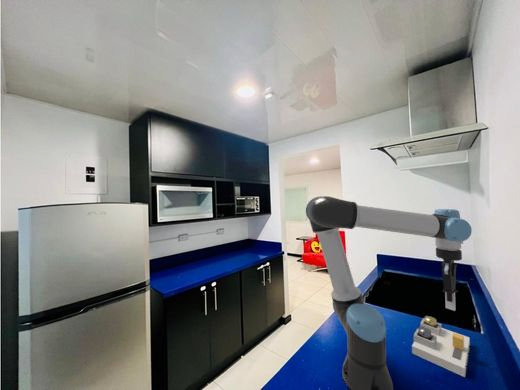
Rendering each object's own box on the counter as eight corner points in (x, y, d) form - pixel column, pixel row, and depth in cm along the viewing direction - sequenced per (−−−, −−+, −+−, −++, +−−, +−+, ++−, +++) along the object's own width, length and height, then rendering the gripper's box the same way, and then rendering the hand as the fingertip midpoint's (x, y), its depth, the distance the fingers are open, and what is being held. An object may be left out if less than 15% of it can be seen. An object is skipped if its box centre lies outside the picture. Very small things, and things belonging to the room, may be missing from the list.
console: (464, 377, 71) (464, 361, 71) (411, 353, 82) (411, 339, 83) (469, 344, 87) (469, 331, 87) (424, 328, 98) (424, 316, 98)
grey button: (430, 341, 82) (430, 334, 82) (417, 336, 85) (417, 329, 85) (432, 337, 85) (432, 329, 85) (420, 332, 88) (419, 325, 88)
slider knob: (463, 350, 79) (463, 339, 79) (452, 346, 81) (452, 336, 81) (464, 346, 81) (463, 336, 81) (453, 342, 83) (453, 332, 83)
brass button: (435, 329, 90) (435, 322, 90) (424, 325, 93) (424, 318, 93) (437, 325, 93) (437, 318, 93) (426, 321, 96) (425, 315, 96)
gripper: (458, 252, 74) (461, 319, 74) (463, 247, 82) (466, 306, 82) (432, 249, 80) (434, 310, 79) (439, 244, 88) (441, 300, 88)
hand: (450, 308), depth 81 cm, fingers closed
